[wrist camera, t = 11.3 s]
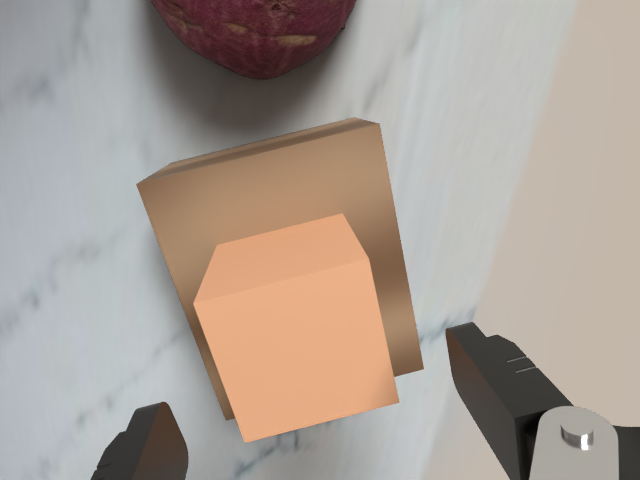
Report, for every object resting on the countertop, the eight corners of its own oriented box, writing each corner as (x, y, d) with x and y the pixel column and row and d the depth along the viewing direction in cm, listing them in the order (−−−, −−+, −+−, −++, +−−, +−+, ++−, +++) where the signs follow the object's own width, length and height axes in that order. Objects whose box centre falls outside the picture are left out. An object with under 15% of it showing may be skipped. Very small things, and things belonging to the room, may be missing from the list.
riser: (171, 162, 23) (136, 184, 17) (353, 117, 23) (379, 123, 17) (236, 352, 27) (225, 420, 21) (392, 312, 27) (423, 369, 21)
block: (216, 245, 18) (193, 303, 13) (342, 213, 18) (369, 258, 13) (253, 353, 20) (244, 442, 15) (367, 323, 20) (399, 402, 15)
